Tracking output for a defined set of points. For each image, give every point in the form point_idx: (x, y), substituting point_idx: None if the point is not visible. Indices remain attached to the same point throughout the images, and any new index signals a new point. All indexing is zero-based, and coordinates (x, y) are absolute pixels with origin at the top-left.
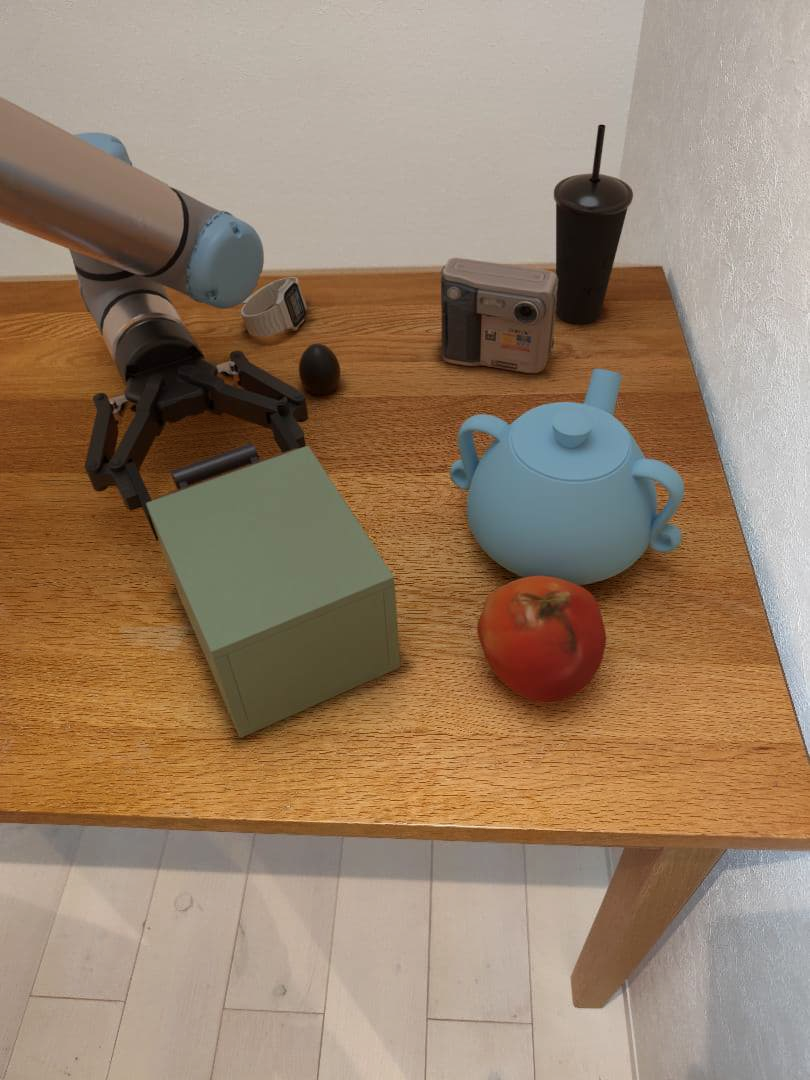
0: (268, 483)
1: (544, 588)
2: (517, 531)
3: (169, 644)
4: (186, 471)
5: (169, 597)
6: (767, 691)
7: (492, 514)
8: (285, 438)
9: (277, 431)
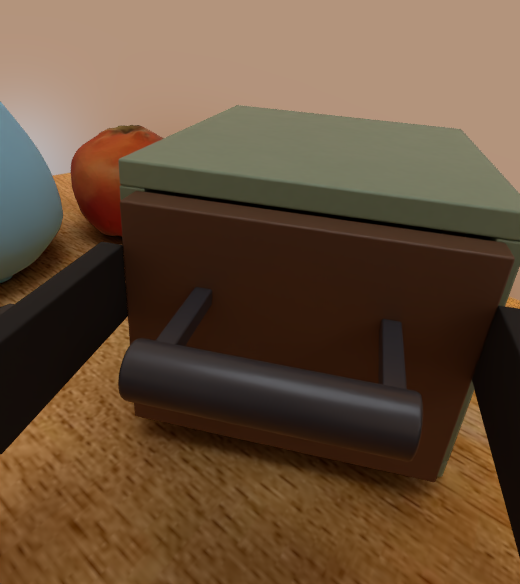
0: (260, 158)
1: (113, 136)
2: (42, 164)
3: (478, 414)
4: (372, 384)
5: (461, 487)
6: (56, 177)
7: (27, 176)
8: (65, 289)
9: (29, 344)
